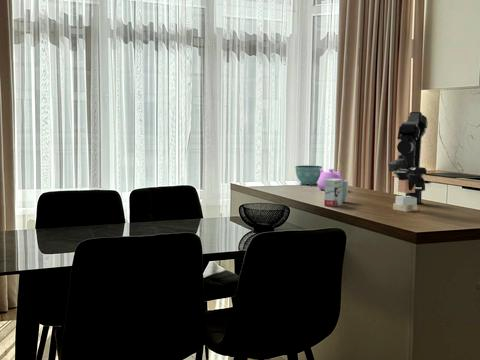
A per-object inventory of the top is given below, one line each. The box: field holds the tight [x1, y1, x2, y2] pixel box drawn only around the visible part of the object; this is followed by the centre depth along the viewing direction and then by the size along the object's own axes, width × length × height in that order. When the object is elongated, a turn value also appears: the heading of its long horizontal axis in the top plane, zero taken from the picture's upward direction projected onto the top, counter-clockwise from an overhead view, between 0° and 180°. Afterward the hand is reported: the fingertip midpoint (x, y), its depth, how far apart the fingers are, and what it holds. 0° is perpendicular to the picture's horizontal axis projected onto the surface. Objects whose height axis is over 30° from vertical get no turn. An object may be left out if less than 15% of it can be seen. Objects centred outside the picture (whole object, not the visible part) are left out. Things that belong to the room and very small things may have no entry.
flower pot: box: [294, 165, 323, 186], centre depth 338 cm, size 16×16×11 cm
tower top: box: [394, 195, 418, 206], centre depth 239 cm, size 6×6×3 cm
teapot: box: [317, 168, 344, 191], centre depth 309 cm, size 20×13×12 cm, turn 27°
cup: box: [342, 179, 349, 203], centre depth 261 cm, size 8×8×10 cm
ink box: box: [323, 178, 344, 208], centre depth 250 cm, size 9×5×12 cm, turn 143°
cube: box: [397, 179, 416, 194], centre depth 239 cm, size 5×5×5 cm
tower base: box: [392, 202, 418, 213], centre depth 240 cm, size 7×7×3 cm
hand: (406, 189), depth 239 cm, fingers closed on cube, 5 cm apart
